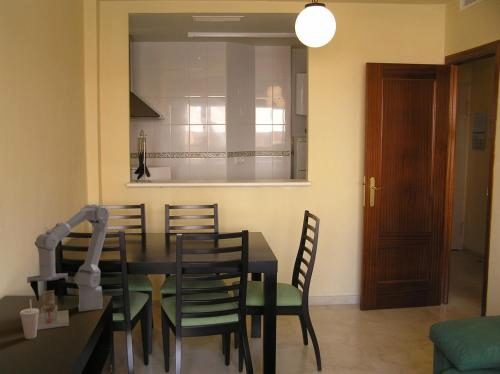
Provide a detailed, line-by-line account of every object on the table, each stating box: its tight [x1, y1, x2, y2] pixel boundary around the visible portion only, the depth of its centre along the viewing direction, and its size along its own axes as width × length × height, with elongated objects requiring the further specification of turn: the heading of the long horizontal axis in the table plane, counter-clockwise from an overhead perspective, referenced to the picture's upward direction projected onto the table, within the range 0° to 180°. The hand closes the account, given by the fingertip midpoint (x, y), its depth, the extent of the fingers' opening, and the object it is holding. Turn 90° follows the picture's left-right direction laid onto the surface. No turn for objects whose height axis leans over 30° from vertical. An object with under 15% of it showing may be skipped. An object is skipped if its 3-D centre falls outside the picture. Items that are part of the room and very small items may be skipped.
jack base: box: [37, 304, 70, 331], centre depth 181 cm, size 14×14×6 cm
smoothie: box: [19, 298, 40, 340], centre depth 167 cm, size 6×6×14 cm
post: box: [42, 289, 56, 311], centre depth 181 cm, size 4×4×8 cm
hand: (48, 298), depth 181 cm, fingers open, 7 cm apart
